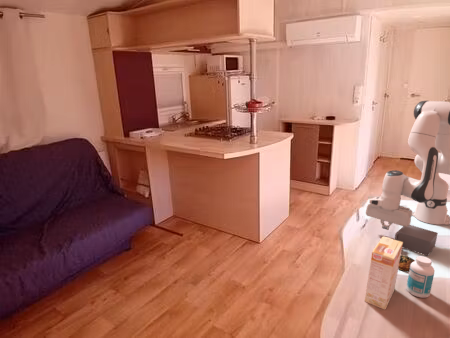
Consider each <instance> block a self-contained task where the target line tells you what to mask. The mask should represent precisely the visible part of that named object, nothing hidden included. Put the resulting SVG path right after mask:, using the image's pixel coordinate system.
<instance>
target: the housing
mask: <svg viewBox="0 0 450 338" xmlns="http://www.w3.org/2000/svg"><path fill="white" fill-rule="evenodd" d="M398 231H399V230H398ZM438 233H439V232H437V231H433V230H430V229H429V230H428V229H425V228H422V227H419V226H415V225H412V224H410V225H409V226H408V227H404V228H403V229H402V230H401V231H399V234H398V240H397V241H401V242H403V246H402V249H406V250H409V251H411V252H414V251H416V252H415V253H417V252H419V253H418V254H420V253H422V254H421V255H423V254H424V255H423V256H425V257H426V256H429V255H430V253H431V252H432V251H433V250H434V249H435V247H436V243H437V239H438V238H437V237H438Z"/></svg>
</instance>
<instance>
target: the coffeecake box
mask: <svg viewBox="0 0 450 338" xmlns="http://www.w3.org/2000/svg"><path fill="white" fill-rule="evenodd" d="M394 239H395V238H394ZM394 239H393V238H391V237H386V236H382V237H381V238H380V240H379V241H378V243H377V244H376V246H375V247H374V248H373V250H372V252H371V257H370V262H369V263H370V264H369V271H368V279H367V283H366V284H367V285H366V290H365V291H366V292H365V297H364V302H366V303H368V304H370V305H373V306H375V307H378V308H380V309H382V310H386V308H387V307H388V305H389V303H390V300H391V298H392V296H393V294H394V291H395V289H396V283H397V278H398V272H399V269H398V267H399V261H400V256H401V255H402V250H403V247H402V245H403V242H401V241H397V240H394Z"/></svg>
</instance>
